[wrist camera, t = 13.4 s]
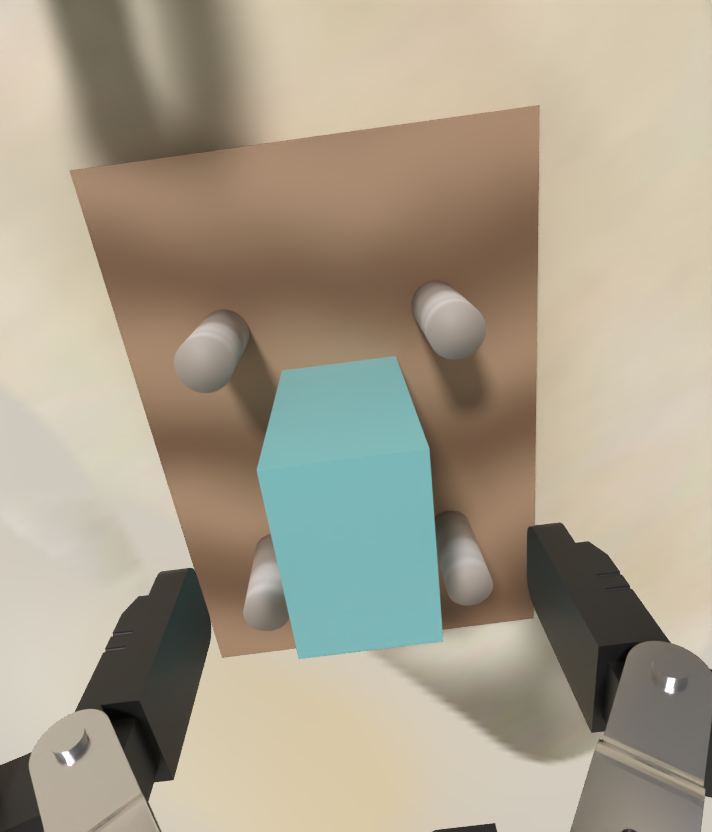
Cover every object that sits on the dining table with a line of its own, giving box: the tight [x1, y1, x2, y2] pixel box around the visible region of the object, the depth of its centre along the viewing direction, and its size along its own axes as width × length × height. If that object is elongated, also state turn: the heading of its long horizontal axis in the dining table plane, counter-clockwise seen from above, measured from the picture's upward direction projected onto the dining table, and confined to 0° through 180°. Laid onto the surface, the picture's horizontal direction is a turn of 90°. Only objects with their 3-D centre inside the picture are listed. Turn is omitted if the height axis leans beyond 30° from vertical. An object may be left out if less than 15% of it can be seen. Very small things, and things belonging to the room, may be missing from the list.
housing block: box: [257, 356, 443, 659], centre depth 17 cm, size 6×4×7 cm, turn 7°
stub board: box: [70, 105, 540, 658], centre depth 19 cm, size 20×14×5 cm
